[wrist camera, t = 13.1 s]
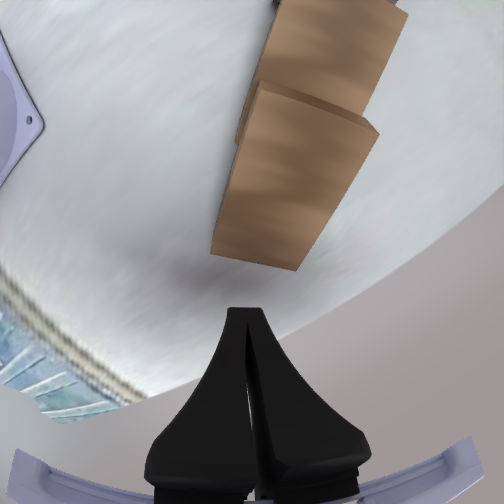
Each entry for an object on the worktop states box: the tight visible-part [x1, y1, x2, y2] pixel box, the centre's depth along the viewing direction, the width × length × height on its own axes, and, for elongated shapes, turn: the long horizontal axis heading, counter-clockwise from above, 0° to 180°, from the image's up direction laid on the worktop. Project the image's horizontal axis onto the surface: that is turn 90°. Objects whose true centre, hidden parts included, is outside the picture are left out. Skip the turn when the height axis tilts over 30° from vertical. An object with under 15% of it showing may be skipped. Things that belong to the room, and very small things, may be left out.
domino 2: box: [210, 79, 380, 271], centre depth 11 cm, size 4×2×8 cm
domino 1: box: [235, 0, 409, 143], centre depth 9 cm, size 4×2×8 cm
